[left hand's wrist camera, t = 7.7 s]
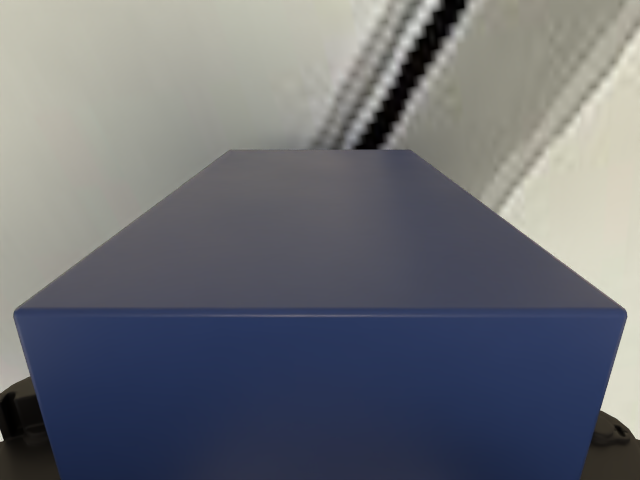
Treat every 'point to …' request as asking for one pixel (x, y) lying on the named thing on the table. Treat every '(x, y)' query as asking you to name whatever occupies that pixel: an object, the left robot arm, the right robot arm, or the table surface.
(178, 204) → the block
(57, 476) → the left robot arm
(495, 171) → the table surface
